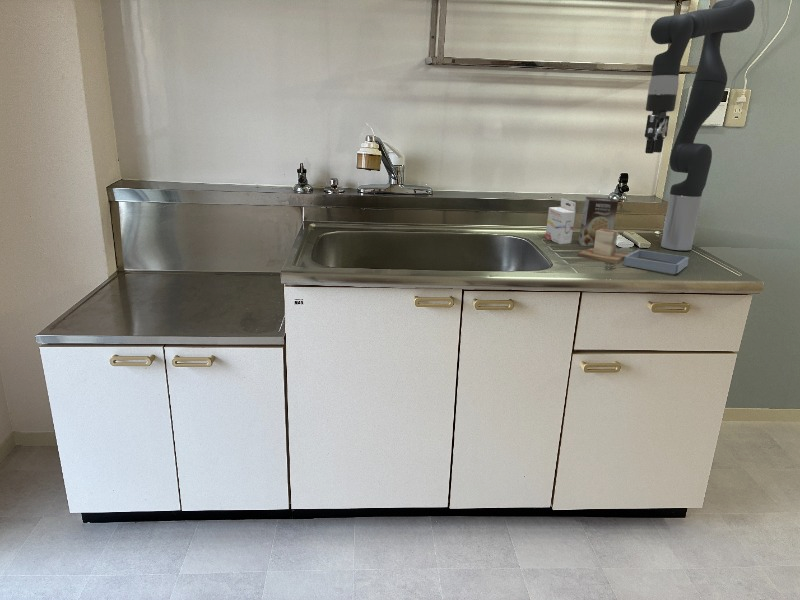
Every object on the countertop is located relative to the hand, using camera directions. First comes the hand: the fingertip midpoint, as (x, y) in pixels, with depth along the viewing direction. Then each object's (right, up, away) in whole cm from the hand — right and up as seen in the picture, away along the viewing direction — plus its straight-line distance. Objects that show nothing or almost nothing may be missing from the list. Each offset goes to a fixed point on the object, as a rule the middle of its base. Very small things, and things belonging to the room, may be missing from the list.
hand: (653, 152), depth 166 cm
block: (-11, -28, +9) cm, 32 cm away
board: (-11, -30, +9) cm, 33 cm away
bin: (+1, -32, +2) cm, 33 cm away
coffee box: (-9, -25, +24) cm, 36 cm away
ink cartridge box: (-21, -24, +27) cm, 41 cm away
